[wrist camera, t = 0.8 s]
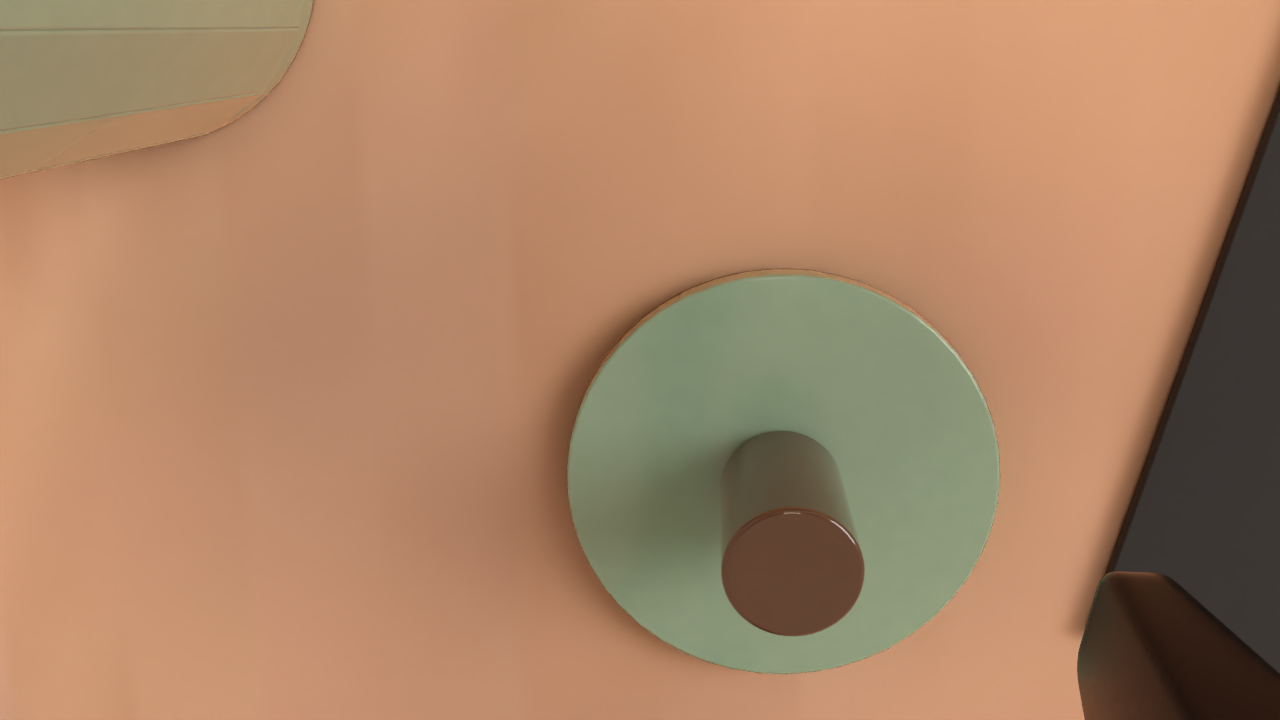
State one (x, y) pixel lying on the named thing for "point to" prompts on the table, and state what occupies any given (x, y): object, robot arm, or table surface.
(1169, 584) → the robot arm
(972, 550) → the lid
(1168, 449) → the mat
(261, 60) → the canister
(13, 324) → the table surface
